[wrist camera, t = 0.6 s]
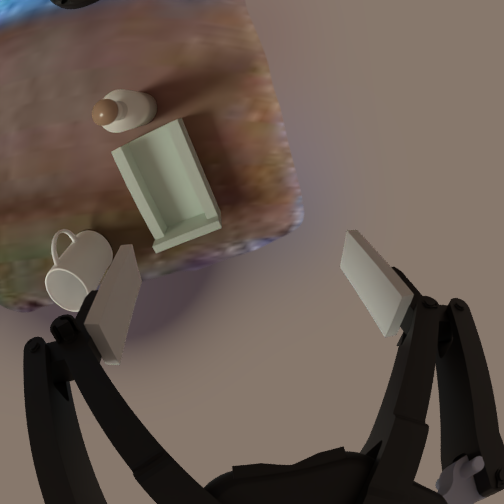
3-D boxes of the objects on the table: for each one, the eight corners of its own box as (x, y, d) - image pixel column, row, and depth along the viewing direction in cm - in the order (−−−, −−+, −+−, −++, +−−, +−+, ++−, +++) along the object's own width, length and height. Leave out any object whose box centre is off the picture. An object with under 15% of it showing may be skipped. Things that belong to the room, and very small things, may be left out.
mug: (60, 219, 40) (26, 252, 30) (97, 208, 40) (66, 241, 30) (83, 274, 46) (59, 315, 36) (119, 267, 46) (99, 310, 36)
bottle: (119, 102, 33) (75, 104, 20) (149, 86, 33) (117, 78, 20) (131, 131, 35) (92, 146, 23) (162, 116, 35) (135, 122, 23)
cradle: (120, 147, 36) (105, 154, 31) (181, 117, 36) (175, 119, 30) (162, 234, 44) (156, 253, 39) (220, 211, 44) (221, 227, 38)
